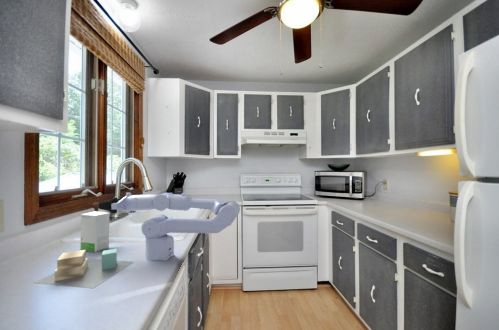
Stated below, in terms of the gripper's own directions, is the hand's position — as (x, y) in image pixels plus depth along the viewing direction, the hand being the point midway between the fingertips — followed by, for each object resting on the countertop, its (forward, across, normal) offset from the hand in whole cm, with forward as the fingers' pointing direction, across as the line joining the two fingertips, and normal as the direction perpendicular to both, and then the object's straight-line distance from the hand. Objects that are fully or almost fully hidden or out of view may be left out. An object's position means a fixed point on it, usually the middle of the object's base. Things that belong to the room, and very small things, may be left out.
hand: (107, 204), depth 85 cm
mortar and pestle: (+20, -18, +19) cm, 33 cm away
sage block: (-7, +9, +20) cm, 23 cm away
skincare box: (+11, -6, +20) cm, 24 cm away
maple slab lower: (+1, +15, +19) cm, 24 cm away
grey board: (-3, +13, +21) cm, 24 cm away
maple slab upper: (+1, +15, +16) cm, 22 cm away
